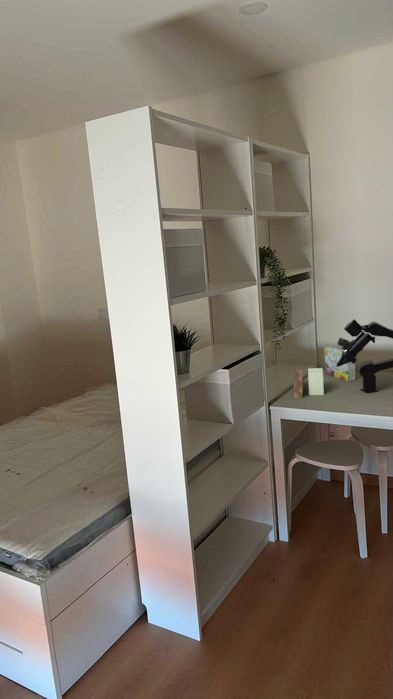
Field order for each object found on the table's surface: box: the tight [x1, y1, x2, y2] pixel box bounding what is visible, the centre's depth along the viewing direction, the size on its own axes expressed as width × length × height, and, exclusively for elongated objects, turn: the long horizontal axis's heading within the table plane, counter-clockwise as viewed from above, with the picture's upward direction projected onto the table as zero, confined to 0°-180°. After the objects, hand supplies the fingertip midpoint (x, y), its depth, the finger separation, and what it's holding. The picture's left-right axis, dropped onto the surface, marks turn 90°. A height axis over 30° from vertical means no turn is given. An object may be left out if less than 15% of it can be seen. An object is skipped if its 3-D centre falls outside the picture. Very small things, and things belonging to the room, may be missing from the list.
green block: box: [307, 367, 325, 396], centre depth 267 cm, size 7×10×11 cm
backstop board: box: [293, 369, 304, 399], centre depth 269 cm, size 4×20×9 cm, turn 168°
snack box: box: [323, 346, 357, 382], centre depth 290 cm, size 21×6×15 cm, turn 21°
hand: (336, 366), depth 263 cm, fingers closed
